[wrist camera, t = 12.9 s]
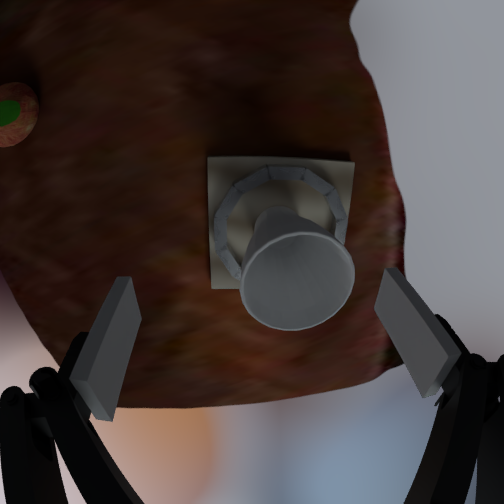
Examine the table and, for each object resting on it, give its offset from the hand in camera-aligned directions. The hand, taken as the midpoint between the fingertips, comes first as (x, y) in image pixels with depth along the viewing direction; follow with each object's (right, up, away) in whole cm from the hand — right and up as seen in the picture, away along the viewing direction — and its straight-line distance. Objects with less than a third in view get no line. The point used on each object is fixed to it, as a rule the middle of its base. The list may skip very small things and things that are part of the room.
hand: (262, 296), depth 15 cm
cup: (+3, +5, +24) cm, 24 cm away
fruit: (-31, +22, +14) cm, 41 cm away
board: (+3, +6, +25) cm, 25 cm away
